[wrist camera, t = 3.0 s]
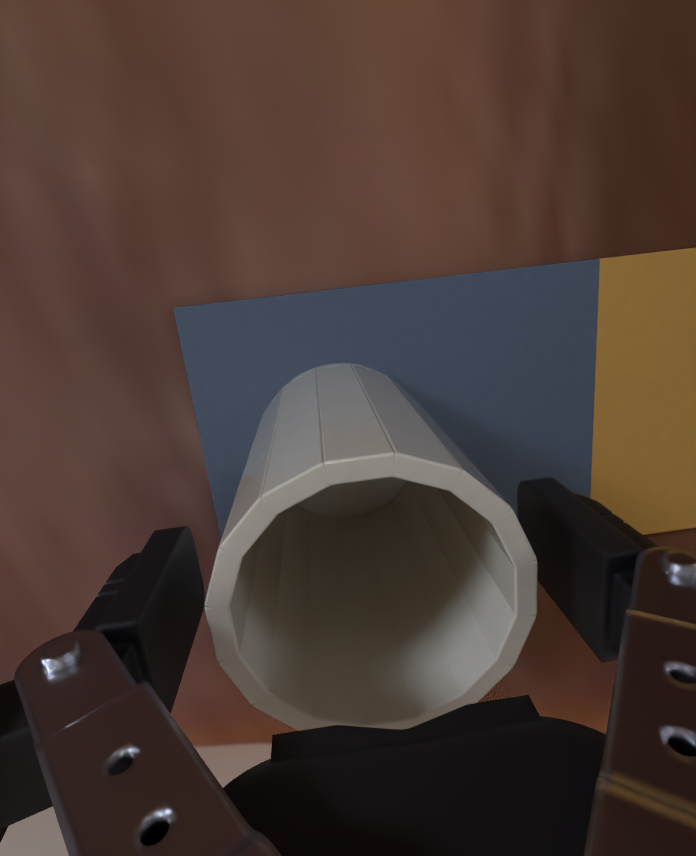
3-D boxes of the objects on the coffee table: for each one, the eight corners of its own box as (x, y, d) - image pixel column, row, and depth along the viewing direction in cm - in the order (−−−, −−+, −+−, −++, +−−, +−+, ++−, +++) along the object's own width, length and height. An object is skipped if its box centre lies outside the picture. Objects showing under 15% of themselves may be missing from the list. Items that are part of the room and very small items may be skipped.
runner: (174, 307, 17) (173, 308, 16) (884, 225, 18) (890, 225, 17) (232, 589, 20) (232, 592, 20) (829, 506, 21) (833, 508, 21)
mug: (244, 374, 17) (174, 481, 8) (418, 352, 17) (539, 433, 8) (283, 596, 20) (262, 864, 11) (433, 575, 20) (537, 820, 11)
